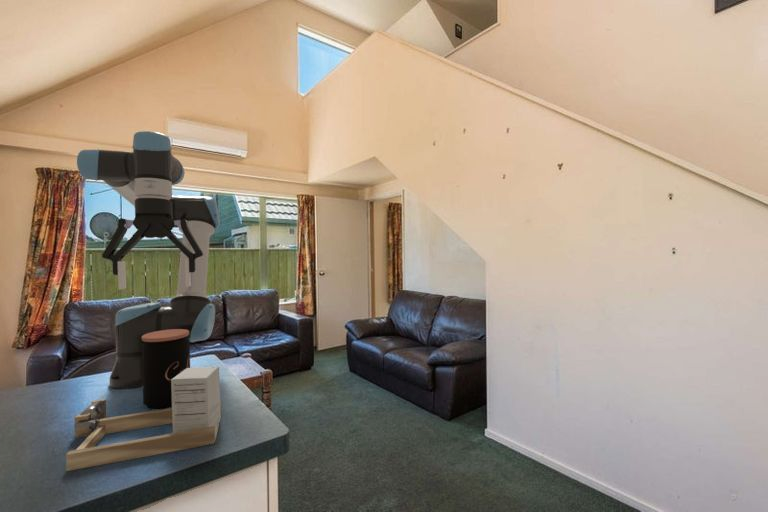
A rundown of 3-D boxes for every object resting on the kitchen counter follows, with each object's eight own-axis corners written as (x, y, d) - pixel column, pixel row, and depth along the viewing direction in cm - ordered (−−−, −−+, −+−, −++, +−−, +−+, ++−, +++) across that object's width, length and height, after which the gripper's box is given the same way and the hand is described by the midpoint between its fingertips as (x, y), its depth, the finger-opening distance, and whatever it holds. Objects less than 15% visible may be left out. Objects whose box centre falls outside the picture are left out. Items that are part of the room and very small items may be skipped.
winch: (92, 419, 82) (91, 399, 82) (117, 415, 84) (116, 396, 84) (65, 445, 71) (65, 423, 71) (95, 440, 73) (94, 418, 72)
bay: (100, 432, 76) (100, 418, 76) (221, 413, 84) (221, 400, 84) (66, 471, 62) (66, 454, 62) (214, 443, 70) (214, 429, 70)
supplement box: (188, 422, 79) (186, 367, 79) (221, 420, 80) (220, 365, 80) (171, 439, 72) (169, 379, 72) (208, 437, 73) (207, 377, 72)
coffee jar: (168, 412, 85) (166, 339, 85) (132, 409, 87) (130, 337, 87) (200, 394, 95) (198, 329, 95) (167, 392, 98) (165, 328, 97)
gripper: (82, 194, 75) (84, 292, 76) (209, 198, 84) (211, 286, 84) (97, 199, 82) (99, 288, 83) (213, 202, 91) (215, 283, 91)
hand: (156, 287), depth 83 cm, fingers open, 13 cm apart
